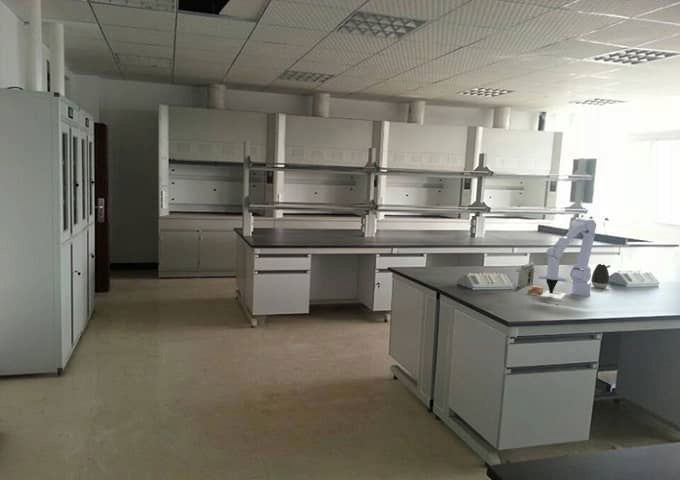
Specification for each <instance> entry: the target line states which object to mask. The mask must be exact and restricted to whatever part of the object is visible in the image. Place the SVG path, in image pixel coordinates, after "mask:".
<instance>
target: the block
mask: <svg viewBox="0 0 680 480" xmlns="http://www.w3.org/2000/svg"><path fill="white" fill-rule="evenodd" d="M531 286H532V294H537V295H542V294H543V293H544V291H543V290H544V286H543V285H531ZM537 295H536V296H537Z"/></svg>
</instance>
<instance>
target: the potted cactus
mask: <svg viewBox="0 0 680 480" xmlns="http://www.w3.org/2000/svg"><path fill="white" fill-rule="evenodd" d="M610 267H611V265H610V264H609V265H606V264H604V263H598V264H597V265H596V266H595V268H594V270H593V272H592V274H591V278H590V281H591V282H590V283H591V286H593V287H594V288H596V289H602V290H603V288H604V289H606V288H608V286H609V284H610V274H609V270H608V269H609V268H610Z"/></svg>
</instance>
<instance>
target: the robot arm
mask: <svg viewBox="0 0 680 480" xmlns="http://www.w3.org/2000/svg"><path fill="white" fill-rule="evenodd" d="M596 229H597V223H596V222H595V220H594V219H589V218H581V217H578V218H576V219H575V220H574V222H572V226H571V228H570V229H569V230H568V232H567V233H566V234H565V235H564V236H561V237H559V238H558V240H557V241H556V242H555V243H554V244H553V245H552V246H550V247H548V249H547V250H546V253H545V254H546V256H547V268H546V269H547V270H546V275H545V274H543V275H542V274H538V275H537V276H538V277H537V279H539V280H546V281H545V282H546V285H547V286H548V287H547V288H548V291H549V293H550V294H554V290H555V287H556V286H557V283H558V282H564V283H567V281H568V279H567V277H563V276H559V271H560V270H559V268H560V259H561V258H562V256H563V255H564V251H565V250H566V249H567V247H568V246H569V245H570V241H571V240H572V239H574V237H576V236H577V234H579V233H581V235H582V236H583V238H582V241H581V246H580V250H579V254H578V259H577V262H576V264H574V265H572V269H571V270H570V274H569V275H570V278H571V280H572V288H571V294H573V295H576V296H583V297H589V296H591V286H592V282H590V281H591V278H592V274H591V271H592V269H591V267H590V266H589V261H590V257H591V253H592V248H593V243H594V241H595V235H596Z"/></svg>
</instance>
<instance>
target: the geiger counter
mask: <svg viewBox="0 0 680 480" xmlns="http://www.w3.org/2000/svg"><path fill="white" fill-rule="evenodd" d="M534 266H535V263H534V262H533V261H531V262H529V263H527V264H524V265H521V266H520V268H518V269H516V271H515V272H517V273H518V281H517V282H518V283H517V288H518V287H519V288H518V289H522V288H523V289H524V288H526V287H529V286H533V284H534V274H535V273H534V272H535V267H534Z"/></svg>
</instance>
